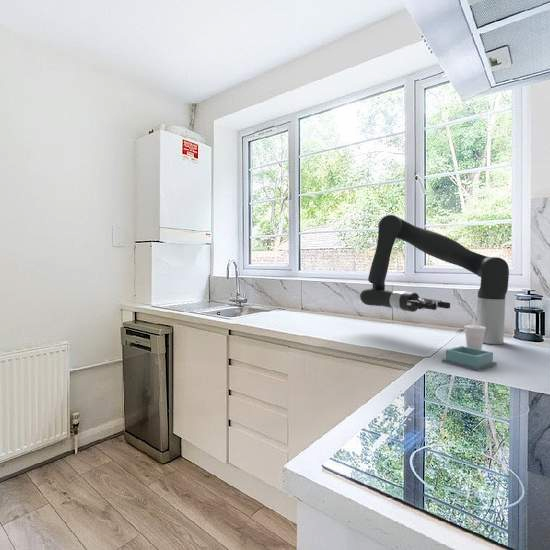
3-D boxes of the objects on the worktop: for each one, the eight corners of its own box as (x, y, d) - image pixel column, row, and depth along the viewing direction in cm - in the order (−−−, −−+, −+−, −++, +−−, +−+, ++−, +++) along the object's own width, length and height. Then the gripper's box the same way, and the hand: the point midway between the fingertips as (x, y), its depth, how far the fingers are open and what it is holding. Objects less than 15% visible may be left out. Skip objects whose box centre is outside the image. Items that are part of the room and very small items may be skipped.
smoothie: (479, 353, 120) (480, 312, 119) (488, 358, 114) (490, 315, 113) (459, 352, 121) (461, 312, 120) (468, 357, 114) (469, 315, 114)
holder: (460, 356, 115) (461, 345, 115) (496, 365, 106) (497, 352, 106) (441, 361, 109) (442, 349, 109) (478, 371, 100) (478, 358, 100)
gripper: (393, 292, 135) (432, 296, 122) (415, 291, 143) (454, 295, 129) (392, 311, 135) (431, 318, 122) (414, 309, 143) (453, 315, 130)
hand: (443, 306), depth 126 cm, fingers open, 8 cm apart
